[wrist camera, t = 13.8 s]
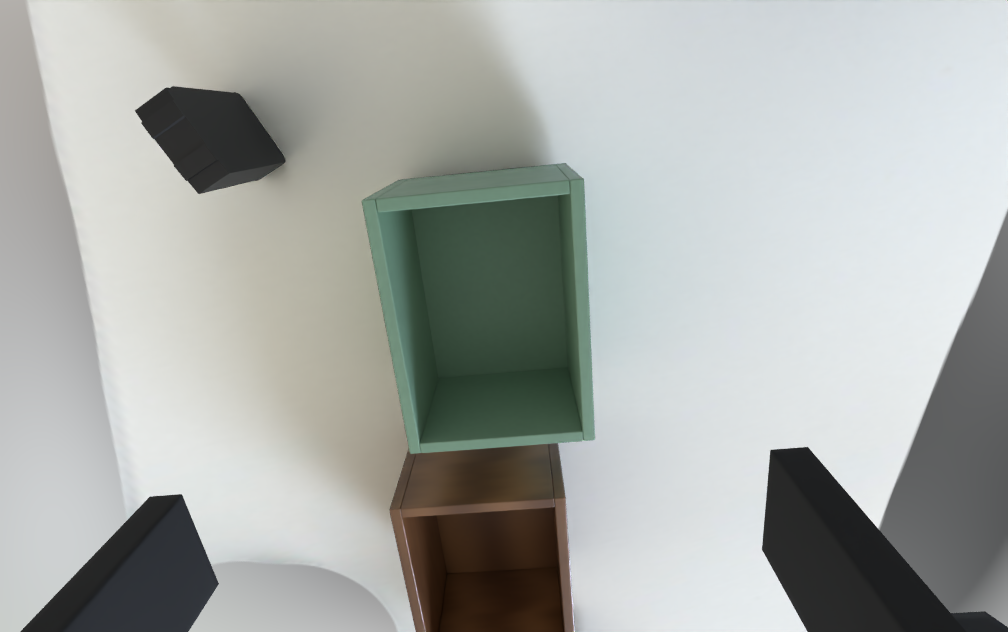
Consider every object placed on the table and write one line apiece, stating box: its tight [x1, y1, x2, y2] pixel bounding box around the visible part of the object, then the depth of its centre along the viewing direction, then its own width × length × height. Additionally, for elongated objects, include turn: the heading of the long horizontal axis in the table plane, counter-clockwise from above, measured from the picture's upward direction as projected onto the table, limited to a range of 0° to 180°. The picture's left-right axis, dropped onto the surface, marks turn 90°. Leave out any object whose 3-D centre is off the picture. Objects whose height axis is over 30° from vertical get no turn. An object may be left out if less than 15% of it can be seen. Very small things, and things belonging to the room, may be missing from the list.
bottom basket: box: [390, 443, 575, 632], centre depth 40 cm, size 11×15×10 cm
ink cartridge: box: [135, 86, 285, 194], centre depth 31 cm, size 5×2×8 cm, turn 30°
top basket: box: [362, 163, 595, 454], centre depth 33 cm, size 11×15×10 cm
